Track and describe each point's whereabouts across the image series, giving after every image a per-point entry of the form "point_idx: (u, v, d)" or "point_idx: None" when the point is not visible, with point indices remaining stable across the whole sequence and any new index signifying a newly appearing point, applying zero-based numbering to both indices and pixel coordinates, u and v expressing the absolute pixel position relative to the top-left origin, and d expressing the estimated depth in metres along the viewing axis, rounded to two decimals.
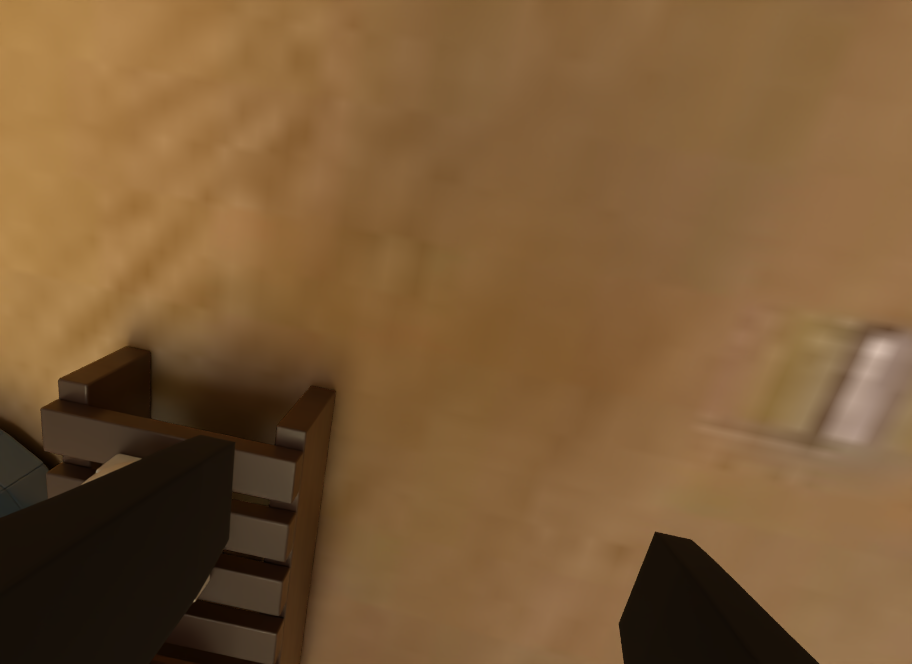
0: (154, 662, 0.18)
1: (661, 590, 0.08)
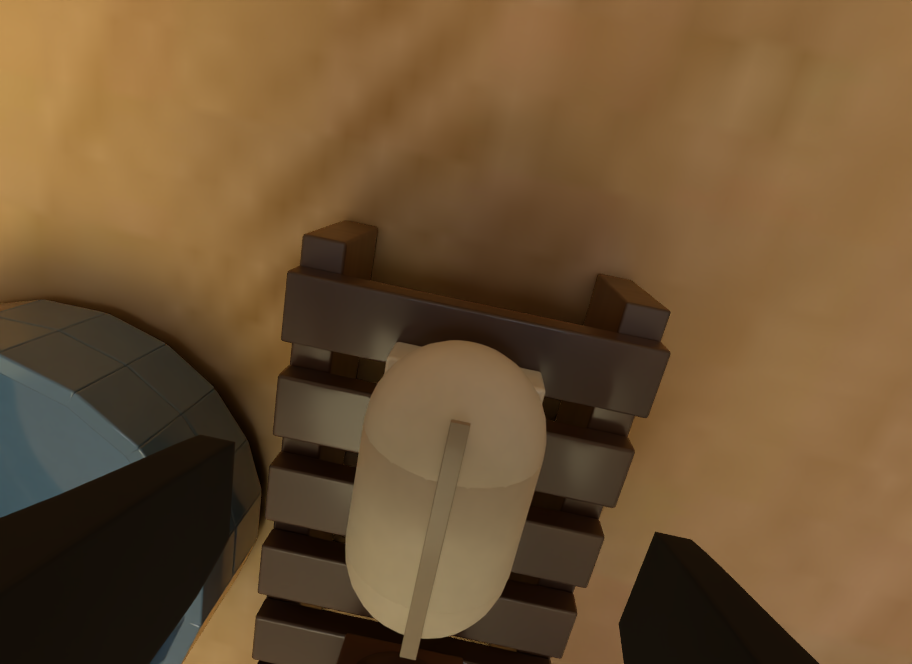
0: None
1: (661, 590, 0.08)
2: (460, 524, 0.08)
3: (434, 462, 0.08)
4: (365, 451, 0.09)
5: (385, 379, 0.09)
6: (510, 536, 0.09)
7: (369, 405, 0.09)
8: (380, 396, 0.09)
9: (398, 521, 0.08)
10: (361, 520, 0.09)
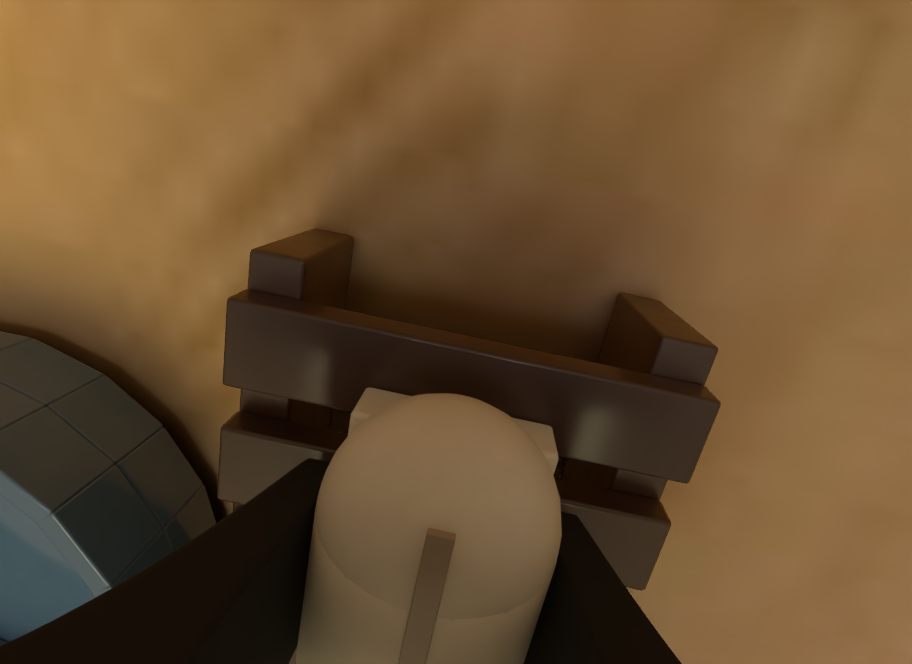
0: None
1: None
2: None
3: (405, 585, 0.05)
4: (315, 551, 0.06)
5: (343, 451, 0.07)
6: None
7: (322, 486, 0.07)
8: (334, 477, 0.06)
9: (356, 656, 0.06)
10: (310, 642, 0.07)
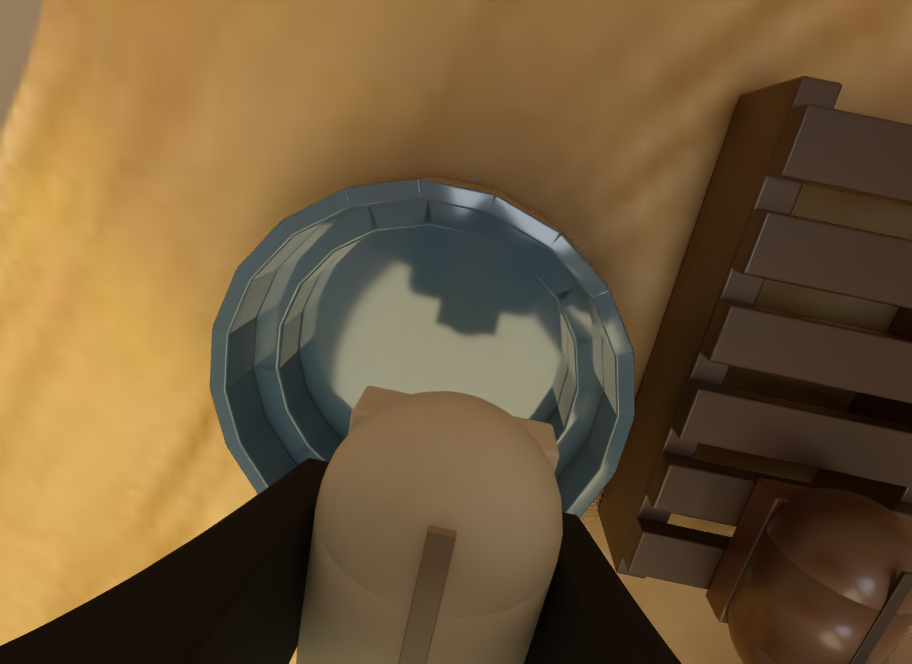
0: None
1: None
2: (444, 663, 0.06)
3: (405, 582, 0.05)
4: (315, 549, 0.06)
5: (344, 449, 0.07)
6: None
7: (322, 484, 0.07)
8: (335, 475, 0.06)
9: (357, 654, 0.06)
10: (310, 642, 0.07)
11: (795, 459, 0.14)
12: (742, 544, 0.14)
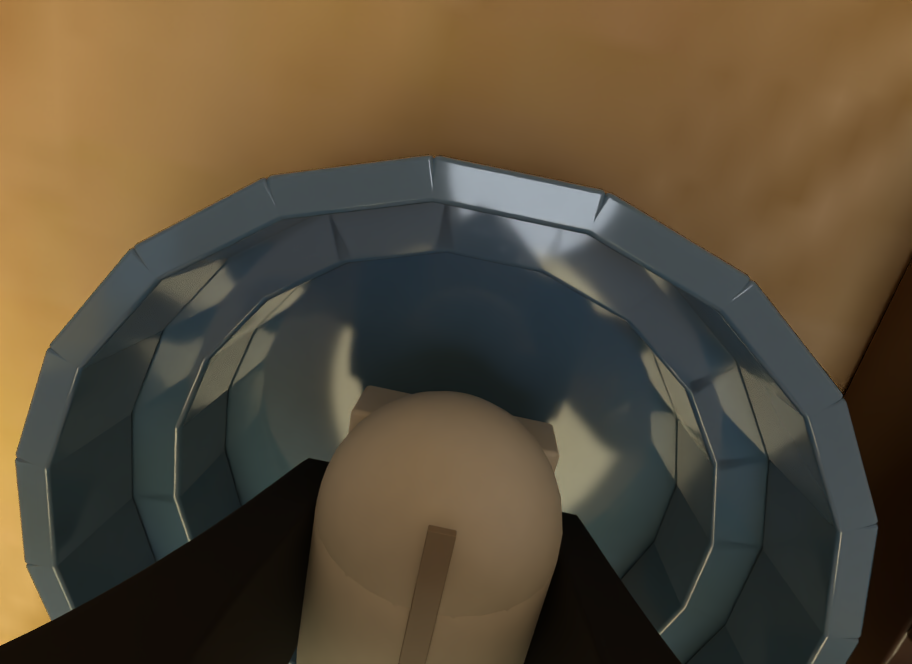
0: None
1: None
2: (443, 663, 0.06)
3: (405, 582, 0.05)
4: (315, 549, 0.06)
5: (343, 449, 0.07)
6: None
7: (322, 483, 0.07)
8: (335, 475, 0.06)
9: (357, 653, 0.06)
10: (311, 640, 0.07)
11: None
12: None
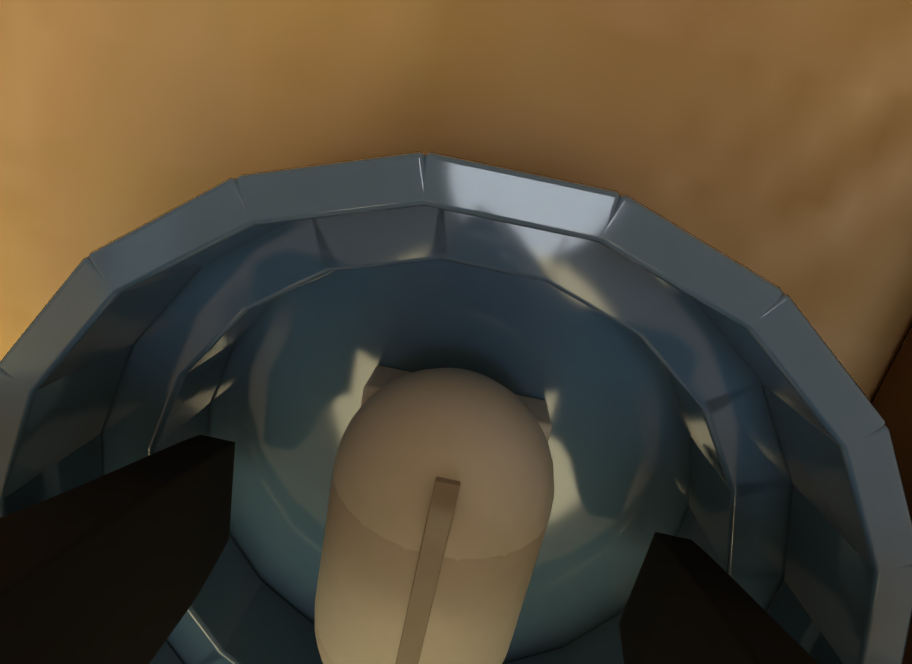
0: None
1: (661, 590, 0.08)
2: (449, 601, 0.07)
3: (416, 528, 0.06)
4: (334, 506, 0.07)
5: (359, 417, 0.07)
6: (510, 608, 0.07)
7: (339, 448, 0.07)
8: (351, 439, 0.07)
9: (372, 595, 0.07)
10: (329, 589, 0.07)
11: None
12: None
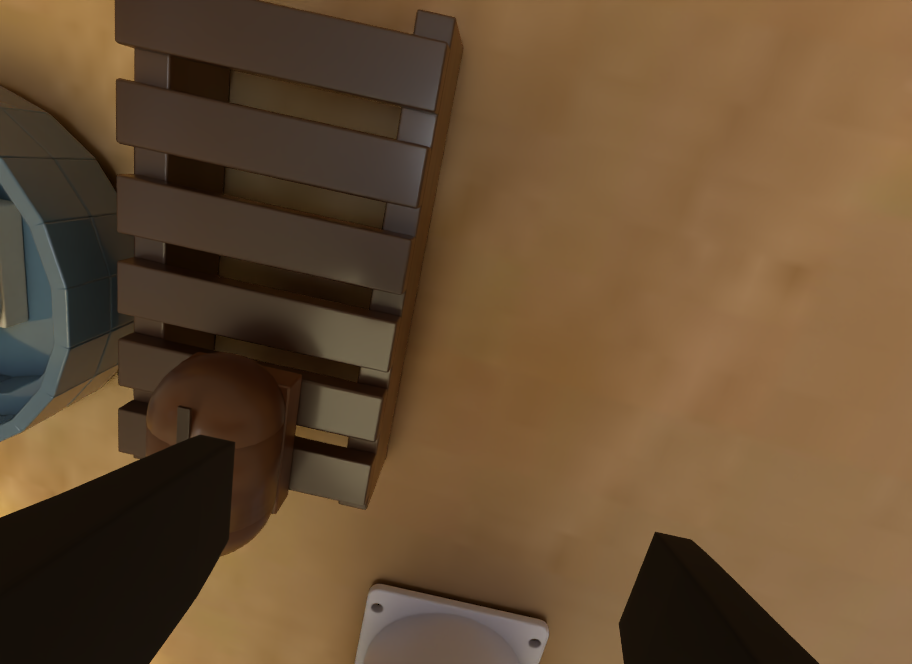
0: None
1: (661, 590, 0.08)
2: None
3: None
4: None
5: None
6: None
7: None
8: None
9: None
10: None
11: (224, 332, 0.15)
12: None
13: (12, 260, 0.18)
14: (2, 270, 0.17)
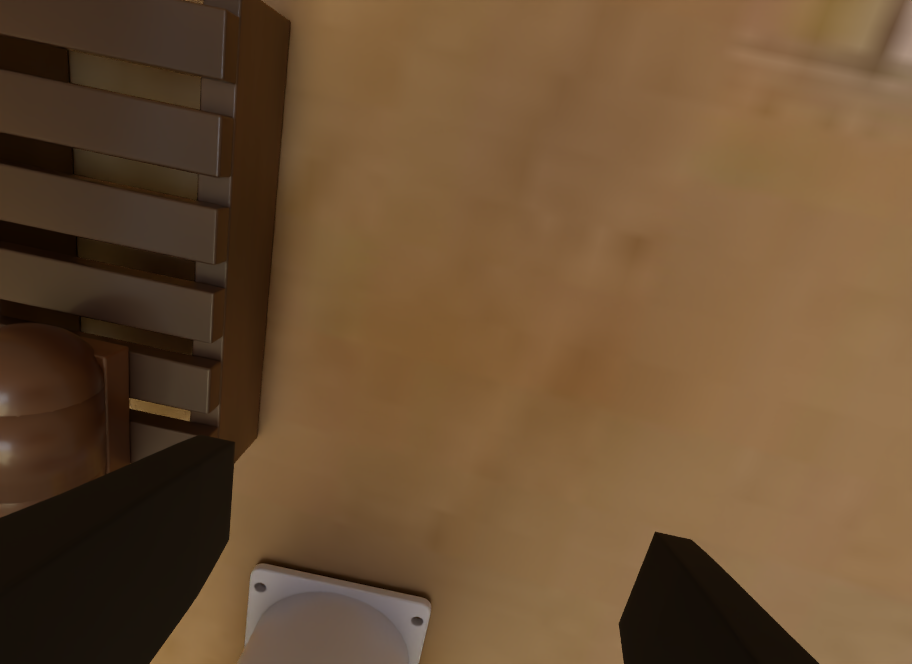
0: None
1: (661, 590, 0.08)
2: None
3: None
4: None
5: None
6: None
7: None
8: None
9: None
10: None
11: (49, 305, 0.15)
12: None
13: None
14: None
